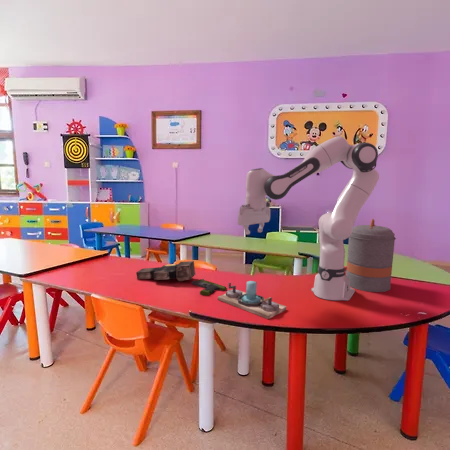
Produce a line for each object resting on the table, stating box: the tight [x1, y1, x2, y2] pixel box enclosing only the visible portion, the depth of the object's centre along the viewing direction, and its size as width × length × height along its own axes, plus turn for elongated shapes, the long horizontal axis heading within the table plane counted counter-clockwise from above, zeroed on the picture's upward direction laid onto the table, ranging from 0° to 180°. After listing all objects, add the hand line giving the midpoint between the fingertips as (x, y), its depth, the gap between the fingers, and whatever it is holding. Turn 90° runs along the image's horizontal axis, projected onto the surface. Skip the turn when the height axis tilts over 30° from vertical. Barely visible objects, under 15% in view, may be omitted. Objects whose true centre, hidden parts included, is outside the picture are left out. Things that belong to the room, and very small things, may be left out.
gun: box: [191, 278, 228, 297], centre depth 162 cm, size 2×19×15 cm
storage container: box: [345, 218, 397, 293], centre depth 168 cm, size 22×22×35 cm
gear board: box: [217, 282, 287, 320], centre depth 141 cm, size 13×28×8 cm, turn 46°
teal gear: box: [242, 280, 261, 303], centre depth 141 cm, size 8×8×8 cm
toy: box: [136, 260, 196, 282], centre depth 175 cm, size 16×9×30 cm
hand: (253, 233), depth 152 cm, fingers open, 8 cm apart
